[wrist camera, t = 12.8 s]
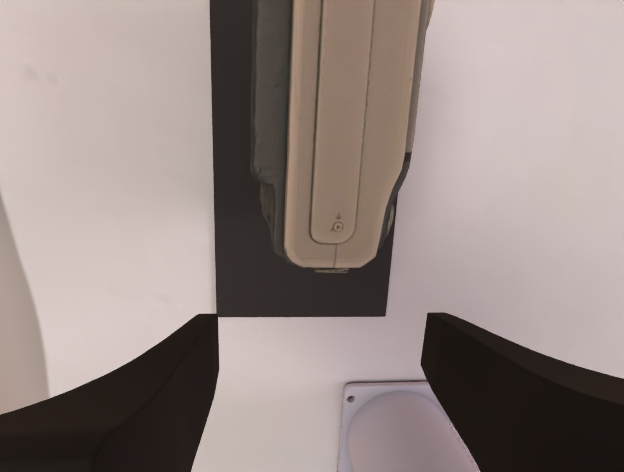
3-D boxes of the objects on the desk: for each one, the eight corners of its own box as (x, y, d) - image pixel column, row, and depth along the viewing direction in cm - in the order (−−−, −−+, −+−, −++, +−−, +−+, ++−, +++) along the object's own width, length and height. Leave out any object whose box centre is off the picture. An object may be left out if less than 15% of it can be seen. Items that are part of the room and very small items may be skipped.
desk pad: (384, 315, 23) (385, 316, 23) (217, 315, 22) (216, 317, 22) (418, -27, 19) (420, -28, 19) (209, -47, 18) (208, -50, 17)
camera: (349, 224, 21) (406, 284, 12) (254, 218, 21) (233, 276, 11) (372, 18, 19) (471, -123, 9) (265, 3, 18) (250, -164, 9)
